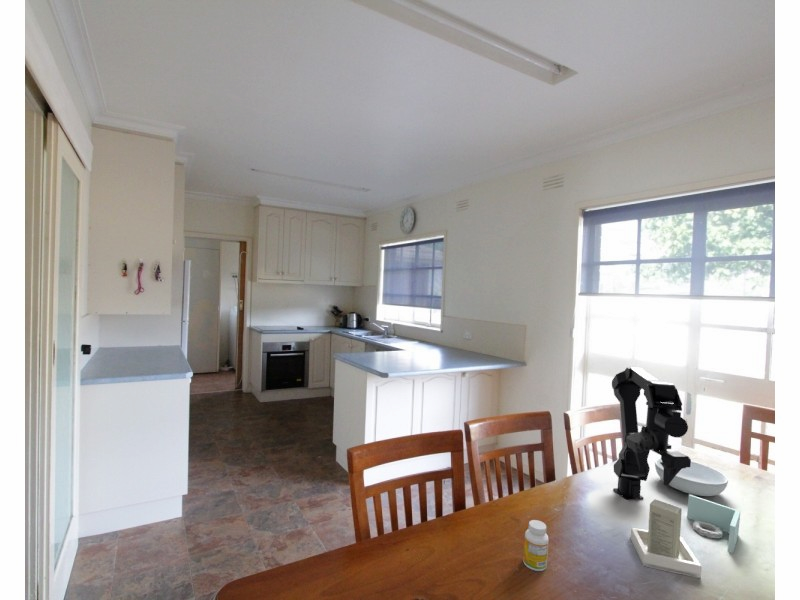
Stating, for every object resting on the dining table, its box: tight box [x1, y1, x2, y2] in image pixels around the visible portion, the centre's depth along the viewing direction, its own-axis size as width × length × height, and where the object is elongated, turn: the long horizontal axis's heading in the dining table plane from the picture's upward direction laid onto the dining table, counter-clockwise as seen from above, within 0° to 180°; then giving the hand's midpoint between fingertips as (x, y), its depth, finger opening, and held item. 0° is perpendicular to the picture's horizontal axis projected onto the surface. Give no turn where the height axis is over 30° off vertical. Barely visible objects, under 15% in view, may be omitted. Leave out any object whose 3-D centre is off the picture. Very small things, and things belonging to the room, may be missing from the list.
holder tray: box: [629, 527, 703, 579], centre depth 105 cm, size 12×12×3 cm
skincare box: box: [647, 498, 682, 558], centre depth 105 cm, size 6×4×12 cm
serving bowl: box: [654, 457, 729, 497], centre depth 144 cm, size 21×21×7 cm
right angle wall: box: [686, 494, 741, 554], centre depth 117 cm, size 12×12×8 cm
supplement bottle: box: [522, 519, 550, 572], centre depth 99 cm, size 5×5×10 cm
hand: (653, 477), depth 121 cm, fingers open, 9 cm apart
